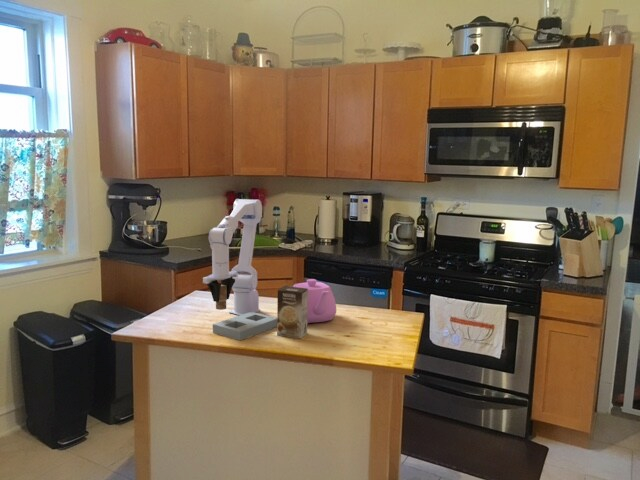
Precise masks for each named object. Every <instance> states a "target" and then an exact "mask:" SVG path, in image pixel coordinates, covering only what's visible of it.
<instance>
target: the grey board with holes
mask: <svg viewBox="0 0 640 480" xmlns="http://www.w3.org/2000/svg"><path fill="white" fill-rule="evenodd" d="M274 328H277V317H274V316H271V315H267V314H263V313H258V312H249V313H246V314H242V315H237V316H233V317H230V318H226V319H224V320H221V321H218V322H214V323H212V333H214V334H216V335H219V336H224V337H226V338H231V339H234V340H237V341H242V340H245V339H248V338H251V337H254V336H255V335H258V334H261V333H264V332H267V331H269V330H272V329H274Z"/></svg>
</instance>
